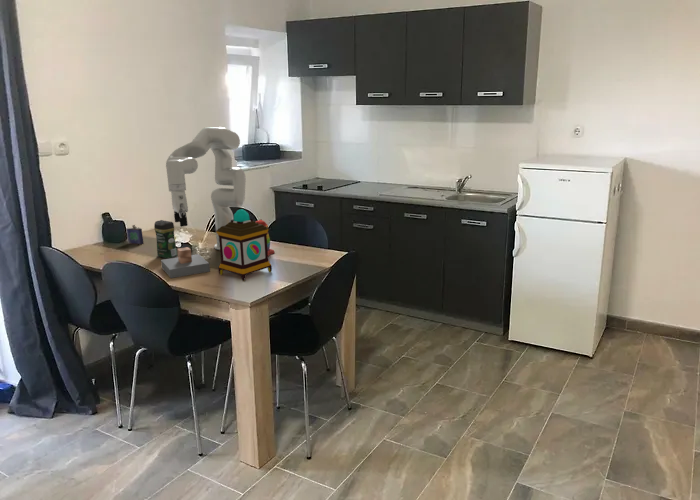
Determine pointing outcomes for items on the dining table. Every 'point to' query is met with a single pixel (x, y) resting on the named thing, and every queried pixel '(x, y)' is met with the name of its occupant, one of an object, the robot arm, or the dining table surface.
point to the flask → (134, 235)
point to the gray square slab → (185, 266)
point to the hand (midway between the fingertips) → (181, 223)
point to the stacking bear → (267, 238)
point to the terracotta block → (184, 255)
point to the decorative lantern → (243, 246)
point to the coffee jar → (165, 239)
